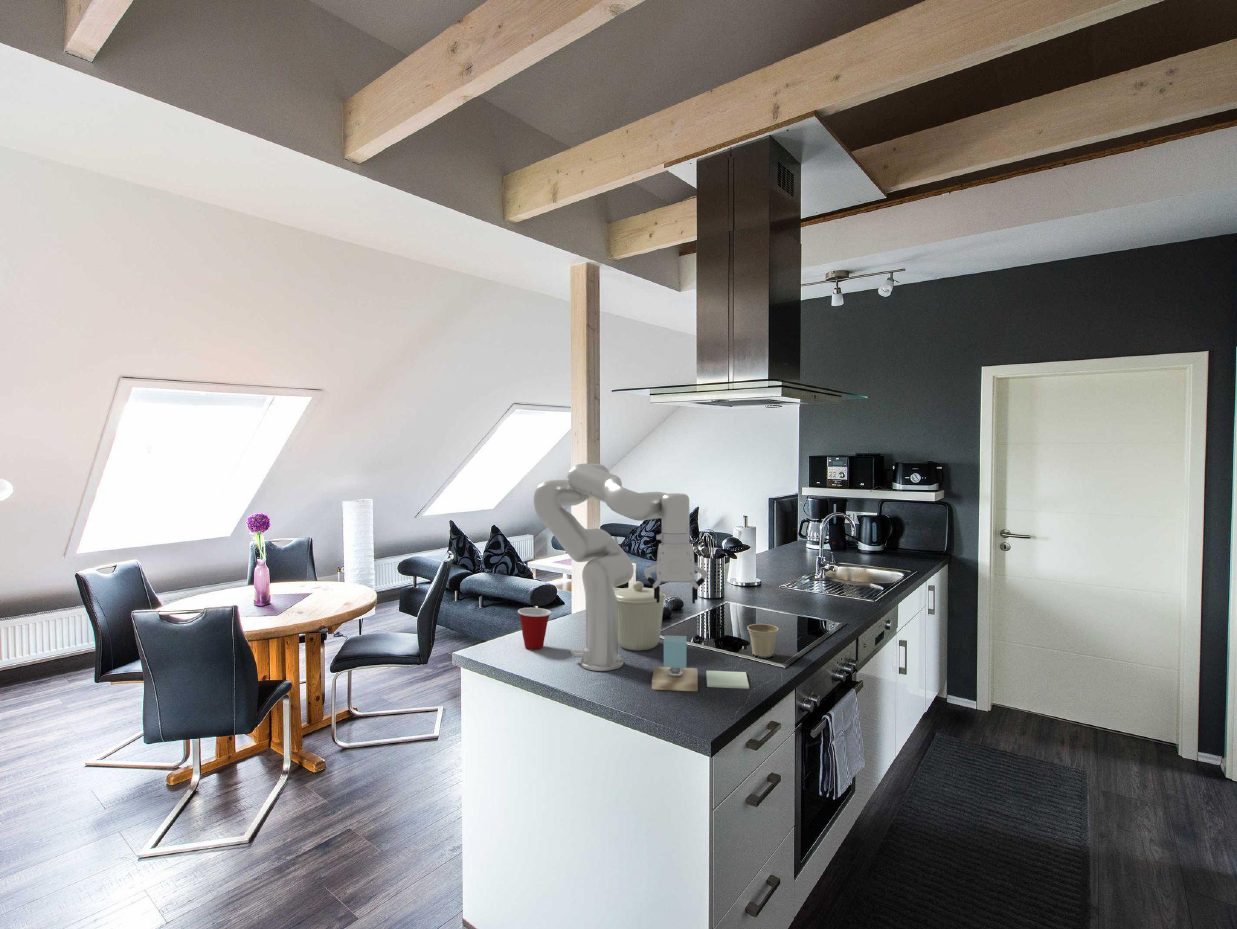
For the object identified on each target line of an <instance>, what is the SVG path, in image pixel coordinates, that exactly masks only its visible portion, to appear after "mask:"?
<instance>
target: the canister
mask: <svg viewBox="0 0 1237 929" xmlns="http://www.w3.org/2000/svg"><path fill="white" fill-rule="evenodd" d="M614 593H615V595H616V598H617V603H618V646H620V647H621V648H623V649H625V650H629V651H636V652H637V651H638V652H639V651H649V650H652V649H654V648H655V647H657V646H658V645H659V642H660V637H661V629H662V625H663V624H662V621H663V613H664V606H665V605H664V603H665V600H666V599H667V595H666V594H665V593H663V592H662V591H661V590H660V601H659V603H657V599H654V588H650V587H644V583H643V582H642V581H638V580H637V581H634V582H633V583H632V587H624V588H620V589H617V590H615V591H614Z"/></svg>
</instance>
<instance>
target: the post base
mask: <svg viewBox="0 0 1237 929" xmlns="http://www.w3.org/2000/svg"><path fill="white" fill-rule="evenodd" d="M669 669H671V667H664V666H654V669H653V673H652V678H651V690H660V691H678V692H679V691H680V692H681V691H683V692H698V690H699V689H698V685H699V684H698V683H699V682H698V678H699V677H698V674H699V673H698V671H699V670H698V668H696V667H695V668H694V667H686V668H680V670H682V671H683V676H681V677H670V676H668V670H669Z"/></svg>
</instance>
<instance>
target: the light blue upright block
mask: <svg viewBox="0 0 1237 929" xmlns="http://www.w3.org/2000/svg"><path fill="white" fill-rule="evenodd" d="M687 638H688V637H687V635H667V634H665V635H664V639H663V667H674V668H687V659H688V658H687V652H688V648H687V647H688V646H687Z"/></svg>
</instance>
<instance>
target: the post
mask: <svg viewBox="0 0 1237 929" xmlns="http://www.w3.org/2000/svg"><path fill="white" fill-rule="evenodd" d="M668 676H670V677H681V676H683V671H682V670H680V668H674V667H671V669H669V670H668Z"/></svg>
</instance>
